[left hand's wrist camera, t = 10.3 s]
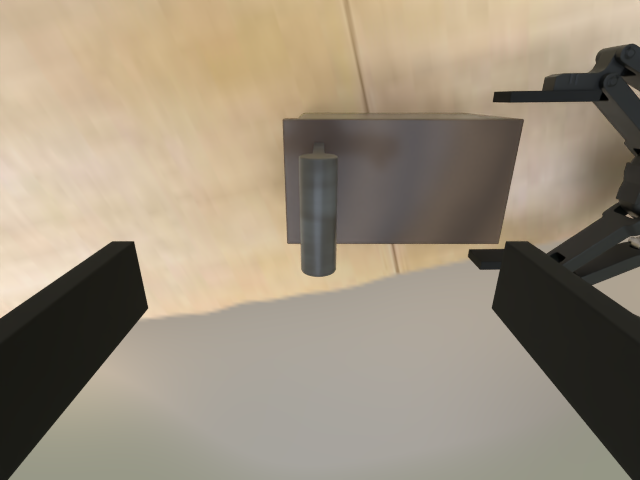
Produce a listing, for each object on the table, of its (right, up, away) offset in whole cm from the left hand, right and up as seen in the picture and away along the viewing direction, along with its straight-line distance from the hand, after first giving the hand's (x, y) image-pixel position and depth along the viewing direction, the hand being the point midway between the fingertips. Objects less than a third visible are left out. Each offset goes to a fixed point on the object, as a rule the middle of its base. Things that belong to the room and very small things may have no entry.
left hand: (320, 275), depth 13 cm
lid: (+6, +6, +14) cm, 16 cm away
